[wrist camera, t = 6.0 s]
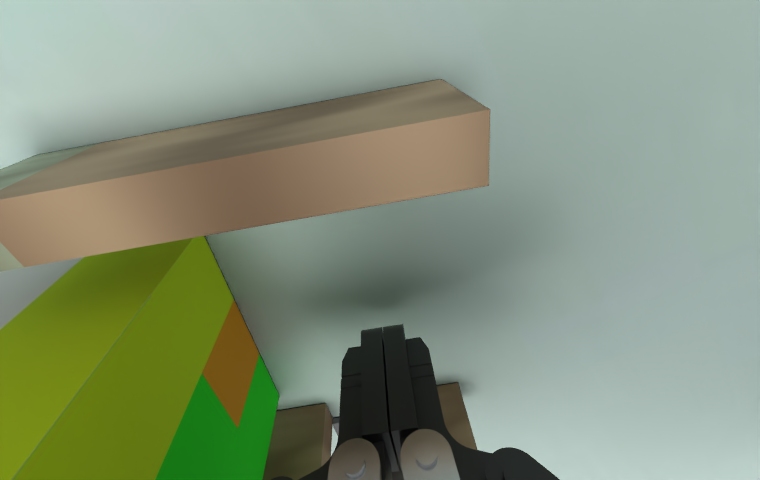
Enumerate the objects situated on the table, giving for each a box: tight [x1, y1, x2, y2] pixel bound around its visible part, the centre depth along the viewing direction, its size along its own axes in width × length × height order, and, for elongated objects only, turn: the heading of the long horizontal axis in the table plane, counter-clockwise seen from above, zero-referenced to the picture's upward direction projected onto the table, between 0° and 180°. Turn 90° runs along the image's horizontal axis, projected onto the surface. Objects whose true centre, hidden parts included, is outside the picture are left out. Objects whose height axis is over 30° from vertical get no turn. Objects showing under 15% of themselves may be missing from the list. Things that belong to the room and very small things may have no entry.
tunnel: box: [0, 79, 490, 480], centre depth 14 cm, size 12×22×4 cm, turn 9°
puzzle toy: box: [0, 236, 279, 480], centre depth 10 cm, size 10×10×10 cm
